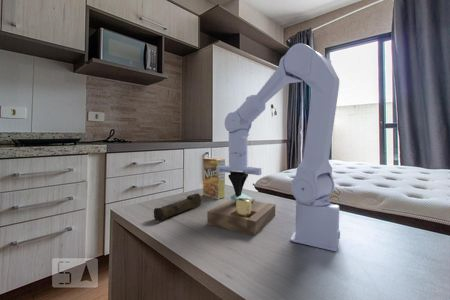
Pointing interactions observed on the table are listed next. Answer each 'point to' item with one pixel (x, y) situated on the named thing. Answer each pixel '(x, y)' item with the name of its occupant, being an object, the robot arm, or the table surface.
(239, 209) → the peg
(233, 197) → the teal flat square block
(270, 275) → the table surface
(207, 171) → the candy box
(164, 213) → the dark brown log
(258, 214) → the block
